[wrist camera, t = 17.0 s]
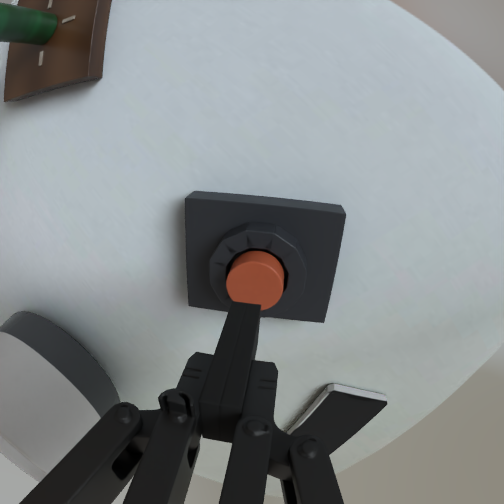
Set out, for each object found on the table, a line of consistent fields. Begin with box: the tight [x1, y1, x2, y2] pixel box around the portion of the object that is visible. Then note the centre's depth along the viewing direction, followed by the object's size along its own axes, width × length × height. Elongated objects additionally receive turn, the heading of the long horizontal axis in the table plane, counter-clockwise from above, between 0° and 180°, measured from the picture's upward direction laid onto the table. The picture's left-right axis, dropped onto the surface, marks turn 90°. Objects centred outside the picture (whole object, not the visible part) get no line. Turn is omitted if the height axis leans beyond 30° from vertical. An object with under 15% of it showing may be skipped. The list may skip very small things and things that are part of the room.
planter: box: [0, 311, 120, 482], centre depth 26 cm, size 19×19×18 cm
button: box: [226, 251, 284, 310], centre depth 20 cm, size 4×4×2 cm
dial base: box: [4, 0, 112, 102], centre depth 16 cm, size 12×12×2 cm
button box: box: [185, 191, 346, 323], centre depth 22 cm, size 11×9×4 cm
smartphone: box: [286, 383, 387, 455], centre depth 31 cm, size 8×1×15 cm
